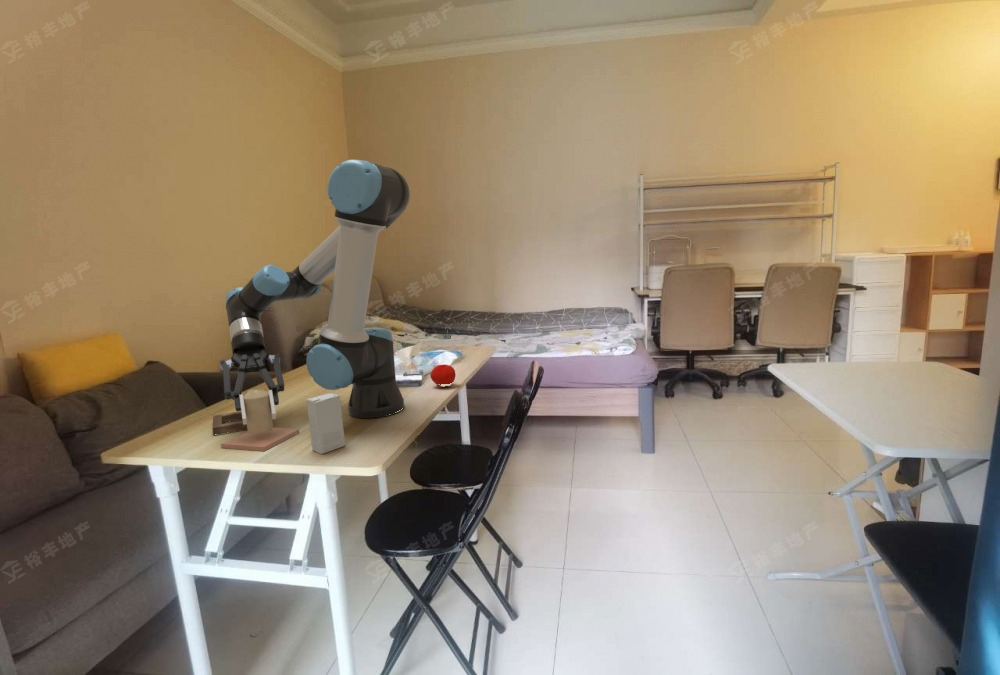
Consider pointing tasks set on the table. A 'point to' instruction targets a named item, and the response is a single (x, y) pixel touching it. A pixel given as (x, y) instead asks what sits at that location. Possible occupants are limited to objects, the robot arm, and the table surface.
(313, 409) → the skincare box
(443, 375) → the apple
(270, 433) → the terracotta tile
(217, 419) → the walnut holder
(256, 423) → the candle
